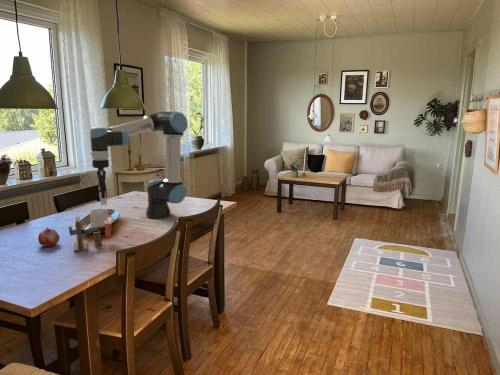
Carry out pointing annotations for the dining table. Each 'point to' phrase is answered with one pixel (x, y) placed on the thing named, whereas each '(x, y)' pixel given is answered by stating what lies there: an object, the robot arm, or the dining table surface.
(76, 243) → the wooden square frame
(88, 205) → the dining table surface
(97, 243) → the saddle block
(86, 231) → the hook rod
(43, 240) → the fruit
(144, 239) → the dining table surface
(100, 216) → the mug
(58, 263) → the dining table surface
